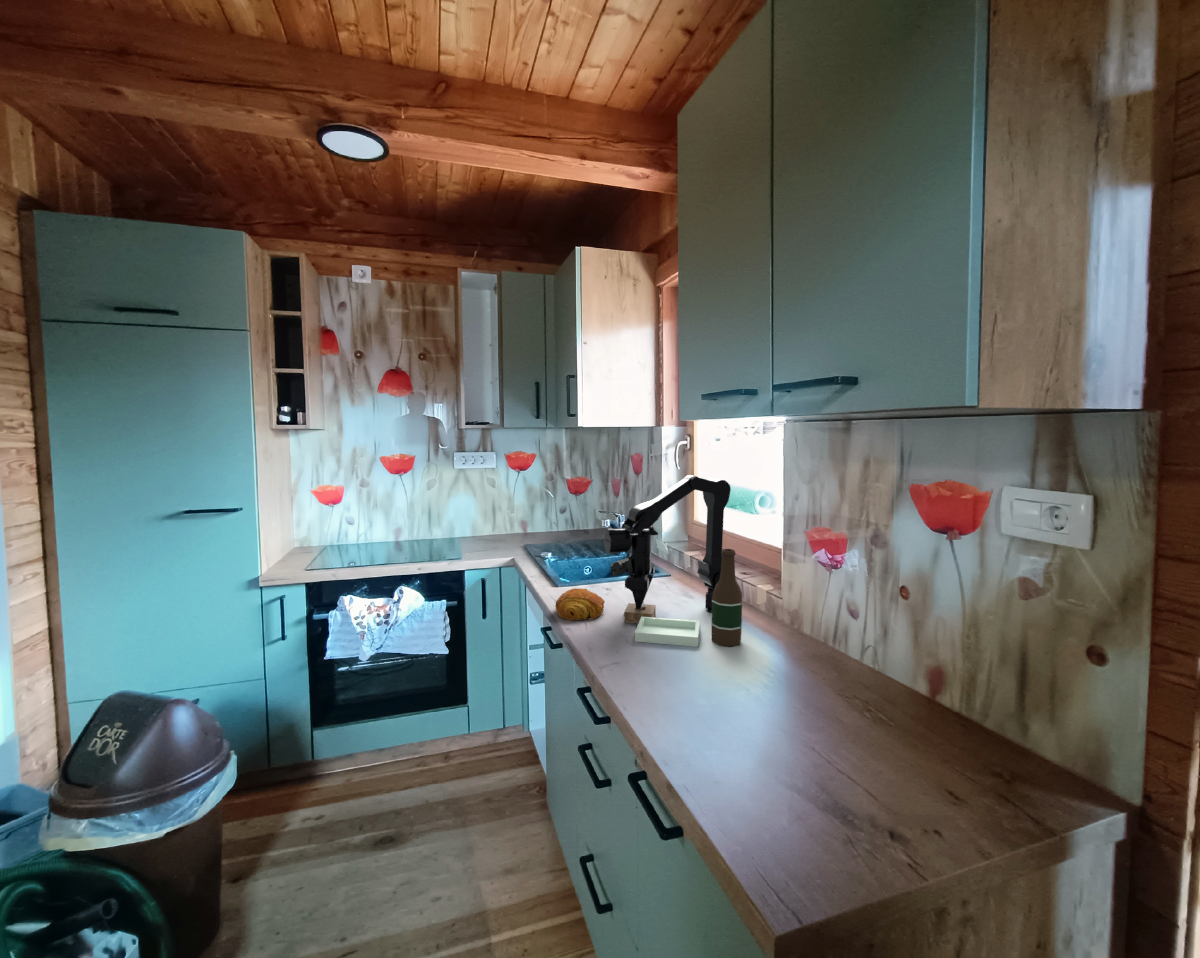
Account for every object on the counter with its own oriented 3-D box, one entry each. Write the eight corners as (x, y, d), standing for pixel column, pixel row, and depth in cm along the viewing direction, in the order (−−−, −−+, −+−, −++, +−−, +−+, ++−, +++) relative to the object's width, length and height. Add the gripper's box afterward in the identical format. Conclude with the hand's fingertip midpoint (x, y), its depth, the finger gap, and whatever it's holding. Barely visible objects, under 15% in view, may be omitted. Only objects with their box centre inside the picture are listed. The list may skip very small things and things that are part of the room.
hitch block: (655, 614, 158) (655, 604, 158) (652, 624, 150) (652, 614, 150) (628, 612, 160) (628, 603, 159) (624, 622, 152) (624, 611, 152)
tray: (699, 629, 146) (699, 620, 146) (697, 646, 135) (698, 637, 134) (641, 624, 150) (641, 616, 150) (634, 641, 138) (634, 632, 138)
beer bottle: (705, 641, 138) (706, 549, 136) (720, 633, 144) (722, 545, 141) (732, 650, 133) (734, 554, 130) (747, 641, 138) (749, 549, 136)
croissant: (549, 626, 155) (547, 601, 153) (565, 602, 169) (564, 579, 168) (598, 630, 151) (596, 603, 149) (610, 605, 166) (609, 581, 164)
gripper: (618, 542, 164) (618, 592, 165) (606, 556, 146) (606, 612, 147) (655, 544, 161) (654, 595, 163) (647, 559, 143) (646, 615, 145)
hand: (640, 604), depth 154 cm, fingers open, 8 cm apart
